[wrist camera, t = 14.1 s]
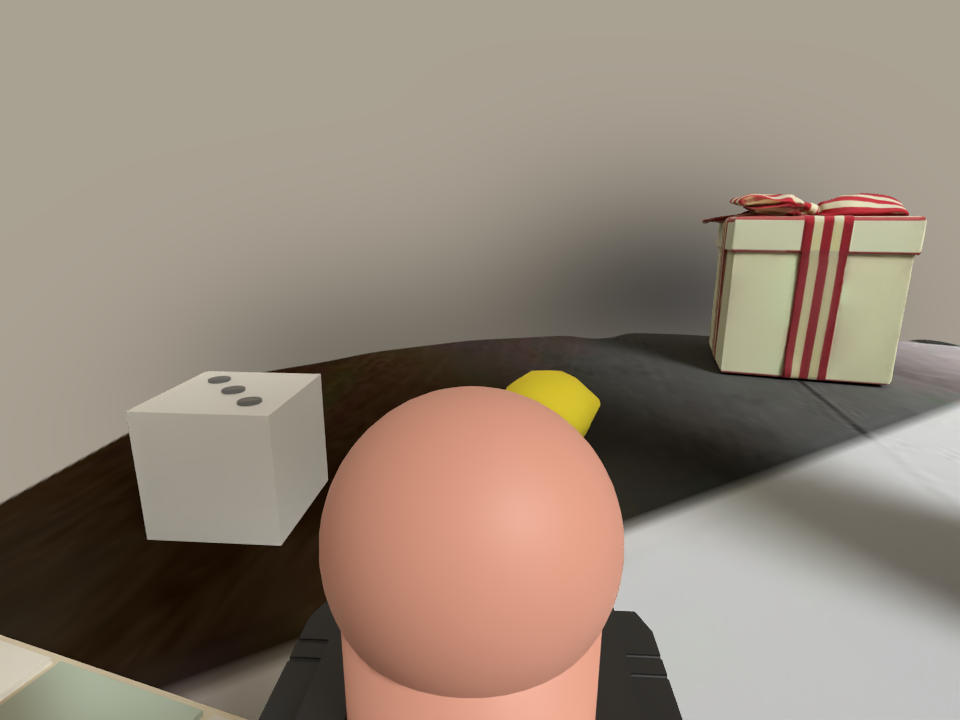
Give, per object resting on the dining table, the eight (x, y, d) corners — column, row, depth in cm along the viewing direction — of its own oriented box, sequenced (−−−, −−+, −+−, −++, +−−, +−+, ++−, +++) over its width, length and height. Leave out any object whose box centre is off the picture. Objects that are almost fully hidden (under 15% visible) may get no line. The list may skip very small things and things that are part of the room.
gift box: (829, 345, 66) (856, 196, 61) (908, 391, 48) (953, 188, 44) (681, 337, 70) (696, 196, 65) (705, 377, 52) (727, 189, 48)
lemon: (502, 474, 34) (491, 392, 32) (496, 439, 39) (486, 367, 37) (614, 458, 34) (608, 375, 32) (592, 425, 39) (586, 353, 37)
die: (220, 477, 32) (206, 369, 30) (328, 481, 32) (320, 372, 30) (147, 540, 26) (125, 409, 24) (281, 547, 25) (268, 414, 24)
